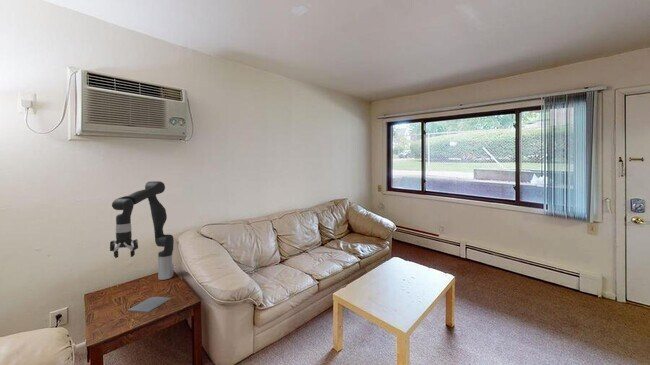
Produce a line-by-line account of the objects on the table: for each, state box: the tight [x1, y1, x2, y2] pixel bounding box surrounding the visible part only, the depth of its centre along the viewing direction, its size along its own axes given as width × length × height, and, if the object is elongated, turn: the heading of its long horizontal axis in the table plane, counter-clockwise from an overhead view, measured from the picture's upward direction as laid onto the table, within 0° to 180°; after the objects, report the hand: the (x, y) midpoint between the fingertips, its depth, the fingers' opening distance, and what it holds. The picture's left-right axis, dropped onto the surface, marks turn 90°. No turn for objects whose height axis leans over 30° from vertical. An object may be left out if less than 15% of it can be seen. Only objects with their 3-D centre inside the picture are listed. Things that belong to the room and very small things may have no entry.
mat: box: [127, 296, 172, 314], centre depth 157 cm, size 18×14×1 cm
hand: (124, 257), depth 155 cm, fingers open, 8 cm apart
